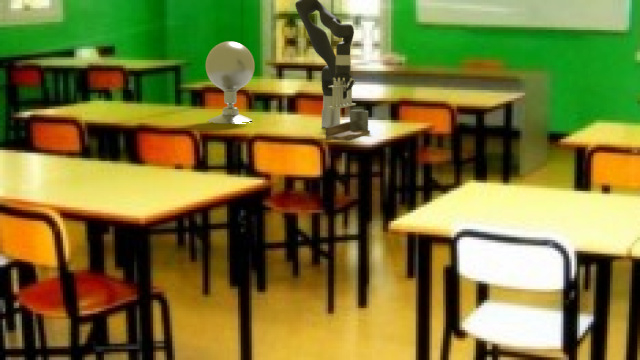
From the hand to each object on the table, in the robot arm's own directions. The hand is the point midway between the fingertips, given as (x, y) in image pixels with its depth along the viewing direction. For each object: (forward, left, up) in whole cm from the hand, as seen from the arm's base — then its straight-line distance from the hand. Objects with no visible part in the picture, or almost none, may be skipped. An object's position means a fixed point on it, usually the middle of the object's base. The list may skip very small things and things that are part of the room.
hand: (342, 98), depth 508 cm
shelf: (+2, +2, -19) cm, 19 cm away
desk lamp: (-84, +38, -19) cm, 94 cm away
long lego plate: (0, 0, -4) cm, 4 cm away
